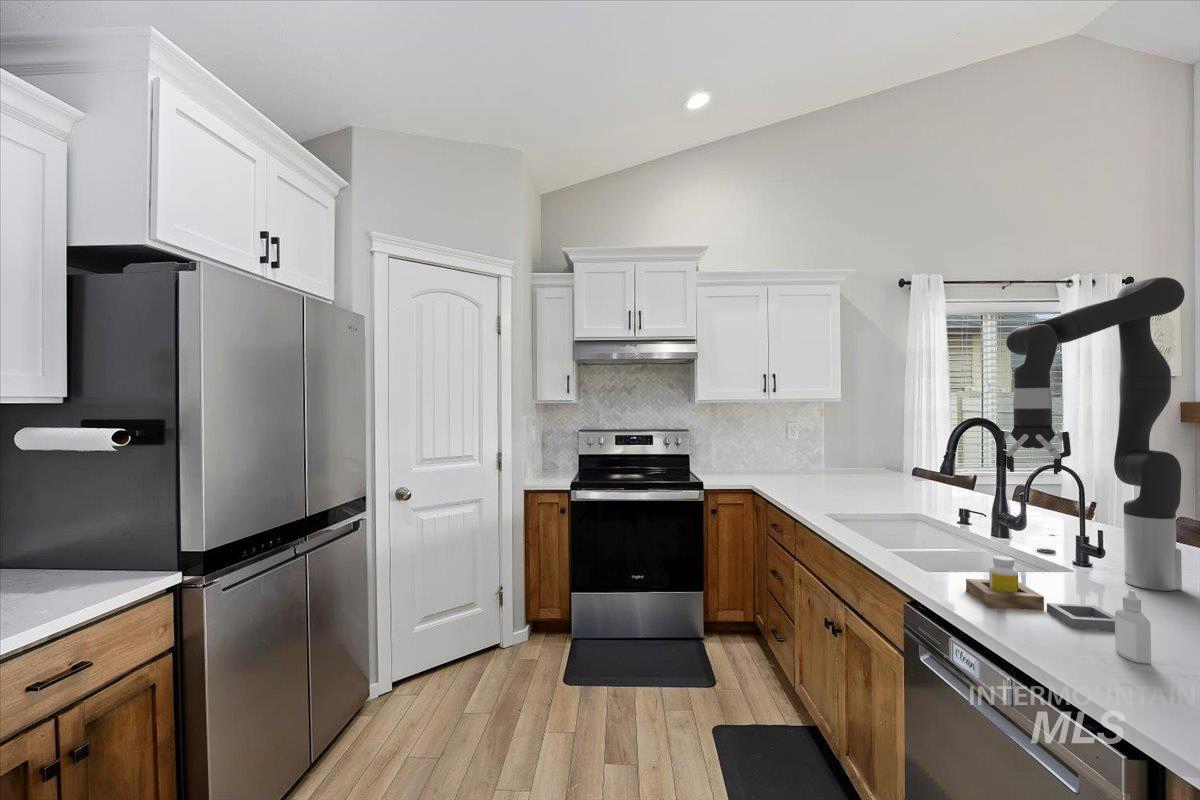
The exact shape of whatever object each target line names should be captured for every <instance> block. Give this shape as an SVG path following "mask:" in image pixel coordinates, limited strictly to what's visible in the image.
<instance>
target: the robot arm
mask: <svg viewBox="0 0 1200 800" xmlns="http://www.w3.org/2000/svg"><path fill="white" fill-rule="evenodd" d="M1185 295H1186V294H1185V289H1184V287H1183V285H1182V283H1180V282H1179V281H1178V280H1176V279H1175V278H1173V277H1167V276H1165V277H1162V276H1161V277H1153V278H1149V279H1144V280H1139V281H1136V282H1135V281H1134V282H1132V283H1131V282H1130V283H1128V284H1125V285H1123V286H1122V287H1121V288H1120V289H1119V290H1118V293H1117V295H1116V297H1115V298H1112V299H1109V300H1105V301H1100V302H1096V303H1093V304H1088V305H1085V306H1082V307H1079V308H1076V309H1072V310H1069V311H1066V312H1063V313H1060V314H1058V315H1055V316H1054V317H1050V318H1048V319H1046V320H1042V321H1037V322H1033V323H1030V324H1026V325H1023V326H1019V327H1016V328H1015V329H1013V330H1012V331H1011V332H1010V333H1009V334H1008V336H1007V338H1006V347H1007V349H1008V350H1009V351H1010V352H1011V353H1013V354H1015V355H1018V356H1025V358H1024V362H1022V364H1020V365H1018V366H1016V367H1015V369H1014V372H1013V374H1014V376H1013V377H1014V378H1013V382H1014V384H1013V385H1014V387H1013V388H1014V390H1013V391H1014V392H1013V398H1012V399H1013V401H1012V406H1013V407H1012V410H1013V429H1012V430H1004V429H1000V430H998V432H997V447H996V452H997V454H1000V455H1003V456H1005V459H1006V469H1007V470H1009V472H1010V473H1014V472H1015V456H1014V454H1015V453H1016V452H1017V451H1018V450H1019V449H1020V448H1021V447H1022V448H1024V449H1032V448H1033V449H1043V448H1045V449H1046V450H1047V451H1048V452H1049V453H1050V455H1052V456H1053V457H1054V458H1053V475H1059V473H1061V471H1062V460H1063V458H1067V457H1068V458H1069V457H1070V456H1071V455H1072V451H1071V449H1072V448H1071V439H1070V432H1069V431H1068V430H1064V431H1054V429H1053V398H1052V397H1053V396H1052V392H1051V369H1052V366H1053V363H1054V360H1055V359H1054V358H1055V356H1056V351H1057V349H1058V345H1059V344H1065V343H1069V342H1072V341H1076V340H1078V339H1081V338H1083V337H1084V338H1085V337H1087V336H1090V335H1092V334H1095V333H1098V332H1102V331H1104V330H1107V329H1109V328H1112V327H1114V326H1117V328H1118V339H1119V366H1120V367H1119V383H1118V384H1119V388H1118V389H1119V409H1118V410H1119V413H1118V431H1117V439H1116V444H1115V451H1114V452H1115V453H1114V457H1113V458H1114V459H1113V466H1114V467H1113V468H1114V473H1115V475H1116V477H1117V479H1119V481H1121V483H1124V484H1126V485H1130V486H1135V487H1139V488H1140V489H1139V495H1138V497H1136V498H1135V499H1129V500H1127V501H1124V503H1123V507H1122V508H1123V548H1124V549H1123V551H1124V552H1123V553H1124V554H1123V555H1124V556H1123V561H1124V567H1123V568H1124V582H1125V583H1126V584H1129V585H1131V586H1134V587H1138V588H1141V589H1148V590H1153V591H1164V592H1171V591H1173V592H1174V591H1177V590H1179V591H1180V590H1181V591H1182V590H1183V577H1182V576H1183V573H1182V572H1183V571H1182V569H1183V568H1182V565H1183V564H1182V550H1181V549H1179V548H1177V518H1176V515H1177V511H1178V508H1179V507H1180V504H1181V494H1182V493H1181V491H1182V467H1181V464H1180V462H1179V460H1178V458H1177V457H1176V456H1175V455H1173V454H1172V453H1170V452H1167V451H1166V452H1165V451H1164V450H1163V451H1162V450H1154V449H1153V450H1151V449H1150V438H1151V431H1152V428H1153V426H1154V424H1155V422H1156V421H1157V419H1158V418H1159V416H1160V415H1161V413H1162V412H1163V411H1164V409H1165V408H1166V406H1167V404H1168V403H1169V401H1170V399H1171V393H1172V372H1171V371H1172V370H1171V366H1170V365H1169V363H1168V361H1167V360H1166V358H1165V357H1164V355H1163V354H1162V353H1161V352H1160V350H1159V348H1158V347H1157V346H1156V344H1155V343H1154V340H1153V337H1152V332H1151V331H1152V330H1151V319H1152V318H1151V317H1157V316H1162V315H1166V314H1169V313H1172V312H1174V311H1176V310H1177V309H1178V308H1179V307H1181V305H1182V304H1183V302H1184V301H1185ZM1010 436H1011V437H1013V439H1014V440H1015V441H1016V442H1015V443H1014V444H1013V445H1012V446H1011V447H1010V449H1009V450H1007V449H1005V443H1006V442H1005V441H1006V440H1007V439H1008V438H1009V437H1010ZM1055 437H1057V438H1058V440H1059V441H1062V444H1063V445H1062V448H1063V451H1061V452H1060V451H1058V450H1057V449H1056V448H1055V445H1053V443H1051V441H1052V439H1054V438H1055Z"/></svg>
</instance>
